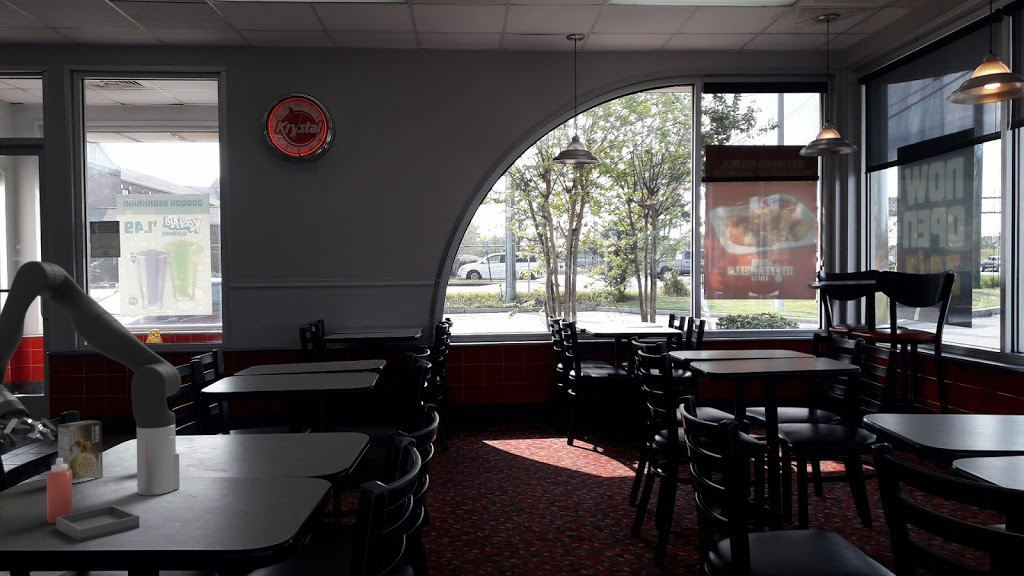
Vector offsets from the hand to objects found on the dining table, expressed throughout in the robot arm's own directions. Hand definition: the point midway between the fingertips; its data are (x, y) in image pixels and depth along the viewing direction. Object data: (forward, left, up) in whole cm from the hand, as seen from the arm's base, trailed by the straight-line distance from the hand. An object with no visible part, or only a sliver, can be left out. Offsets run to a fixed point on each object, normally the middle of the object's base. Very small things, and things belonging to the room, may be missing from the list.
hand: (33, 444), depth 180 cm
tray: (-4, +29, -16) cm, 33 cm away
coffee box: (-18, -22, -16) cm, 32 cm away
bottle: (-1, +15, -16) cm, 22 cm away
